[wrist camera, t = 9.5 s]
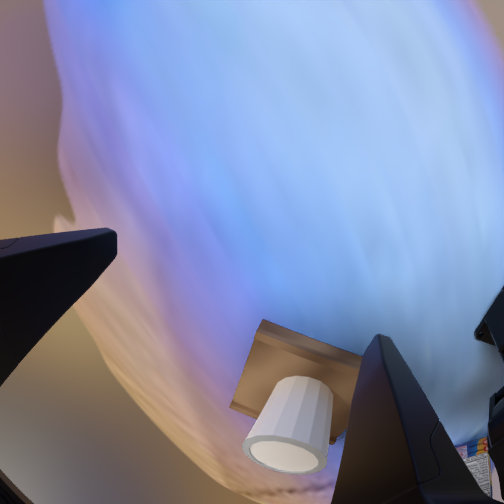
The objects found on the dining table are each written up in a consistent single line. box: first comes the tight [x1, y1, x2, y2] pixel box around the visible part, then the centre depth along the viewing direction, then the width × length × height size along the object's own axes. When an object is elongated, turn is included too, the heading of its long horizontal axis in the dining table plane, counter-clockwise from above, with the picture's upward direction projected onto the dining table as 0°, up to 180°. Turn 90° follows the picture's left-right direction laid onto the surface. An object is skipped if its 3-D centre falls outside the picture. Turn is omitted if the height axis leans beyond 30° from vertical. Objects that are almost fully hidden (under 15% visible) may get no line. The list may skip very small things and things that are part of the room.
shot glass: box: [242, 376, 333, 475], centre depth 22 cm, size 7×7×7 cm
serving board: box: [229, 319, 362, 445], centre depth 25 cm, size 12×12×2 cm
